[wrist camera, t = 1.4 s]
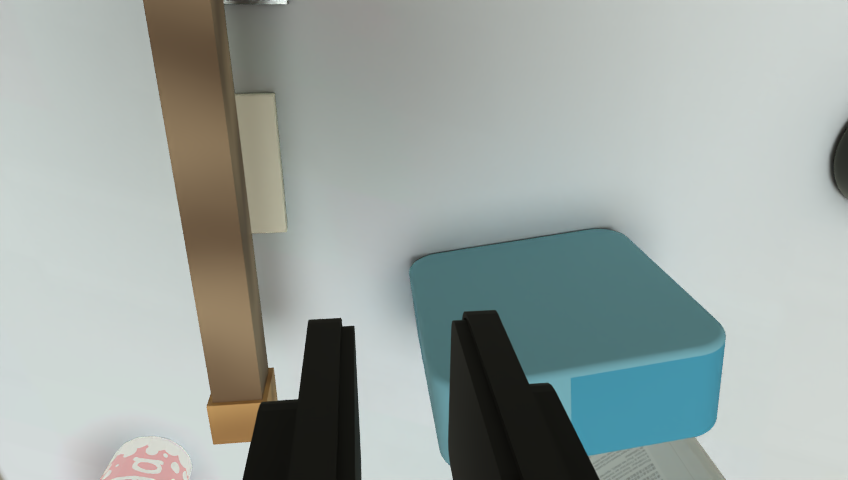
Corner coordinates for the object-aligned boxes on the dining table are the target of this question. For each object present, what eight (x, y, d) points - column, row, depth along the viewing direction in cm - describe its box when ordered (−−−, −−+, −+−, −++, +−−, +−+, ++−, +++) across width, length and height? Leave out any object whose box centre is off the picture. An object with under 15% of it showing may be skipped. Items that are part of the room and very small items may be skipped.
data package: (415, 325, 34) (445, 484, 24) (405, 256, 33) (433, 394, 22) (614, 292, 35) (733, 433, 24) (615, 223, 33) (744, 342, 22)
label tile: (166, 94, 28) (162, 97, 27) (274, 93, 28) (273, 95, 28) (189, 231, 31) (186, 236, 30) (287, 227, 31) (286, 232, 30)
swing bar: (115, -138, 18) (83, -154, 16) (233, -135, 19) (218, -150, 17) (211, 407, 27) (198, 445, 25) (291, 402, 27) (285, 439, 25)
